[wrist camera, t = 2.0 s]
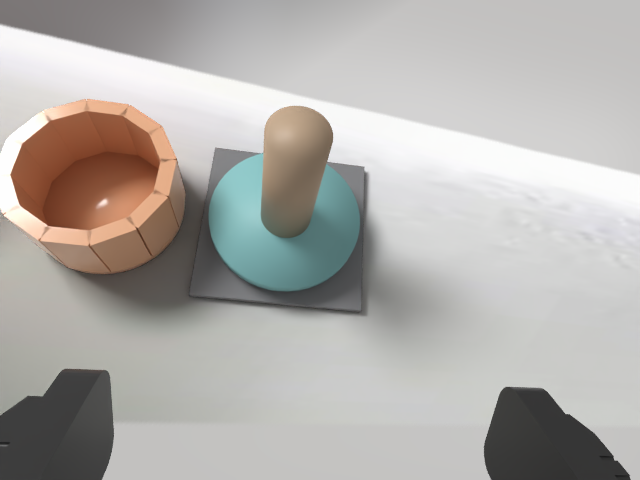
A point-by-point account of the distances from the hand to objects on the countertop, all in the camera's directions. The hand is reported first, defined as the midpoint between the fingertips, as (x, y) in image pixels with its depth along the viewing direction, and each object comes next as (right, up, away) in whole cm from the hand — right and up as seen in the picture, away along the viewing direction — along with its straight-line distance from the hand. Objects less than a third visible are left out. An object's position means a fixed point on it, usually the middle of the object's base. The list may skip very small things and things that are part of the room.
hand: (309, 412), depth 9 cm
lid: (-2, +5, +19) cm, 20 cm away
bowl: (-12, +6, +18) cm, 23 cm away
